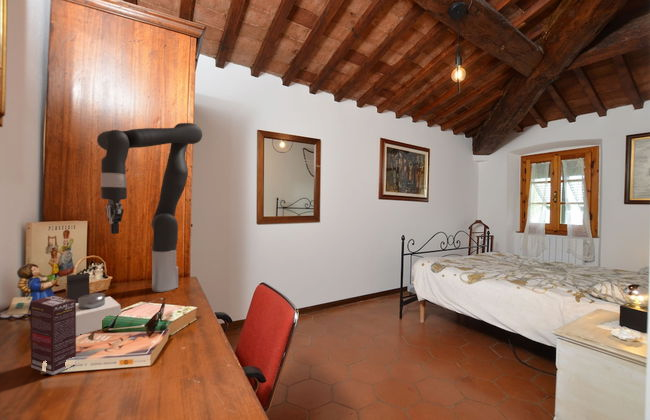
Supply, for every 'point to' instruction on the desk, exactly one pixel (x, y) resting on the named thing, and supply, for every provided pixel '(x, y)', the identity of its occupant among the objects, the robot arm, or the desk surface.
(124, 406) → the desk surface
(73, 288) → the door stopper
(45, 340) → the supplement box
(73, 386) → the desk surface
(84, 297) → the grey mushroom knob
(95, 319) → the block
